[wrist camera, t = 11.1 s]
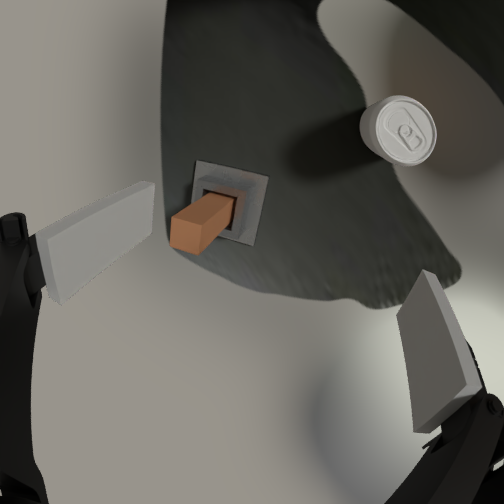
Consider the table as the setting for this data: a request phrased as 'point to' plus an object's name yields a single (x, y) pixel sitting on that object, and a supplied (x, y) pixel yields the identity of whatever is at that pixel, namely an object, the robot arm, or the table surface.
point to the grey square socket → (241, 186)
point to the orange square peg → (202, 222)
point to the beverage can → (399, 130)
